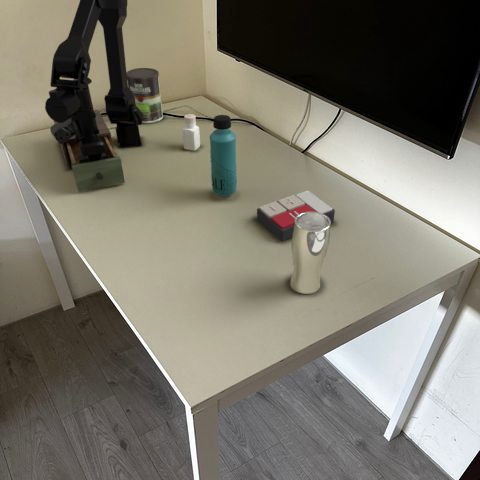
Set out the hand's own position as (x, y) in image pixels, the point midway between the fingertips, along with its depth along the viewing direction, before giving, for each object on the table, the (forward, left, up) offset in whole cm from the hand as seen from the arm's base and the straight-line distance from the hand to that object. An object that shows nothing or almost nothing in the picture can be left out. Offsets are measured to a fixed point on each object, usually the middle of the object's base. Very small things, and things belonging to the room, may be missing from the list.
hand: (94, 166), depth 128 cm
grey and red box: (-46, +34, -3) cm, 58 cm away
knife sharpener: (0, 0, -1) cm, 1 cm away
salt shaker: (-28, -12, -3) cm, 31 cm away
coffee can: (-17, -39, -3) cm, 42 cm away
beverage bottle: (-32, +19, -3) cm, 37 cm away
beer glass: (-41, +57, -3) cm, 71 cm away
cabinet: (+3, -16, -3) cm, 16 cm away
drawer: (0, +1, -2) cm, 2 cm away
